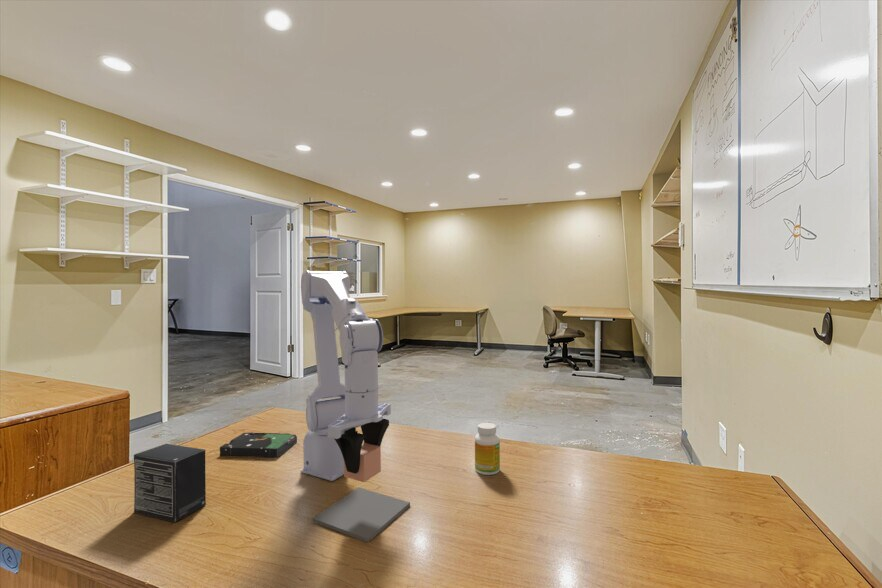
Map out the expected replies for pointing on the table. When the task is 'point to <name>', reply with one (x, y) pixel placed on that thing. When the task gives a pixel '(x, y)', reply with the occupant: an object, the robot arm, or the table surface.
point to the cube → (367, 463)
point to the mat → (361, 513)
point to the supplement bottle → (487, 450)
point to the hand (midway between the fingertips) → (362, 465)
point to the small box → (169, 481)
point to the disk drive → (259, 445)
